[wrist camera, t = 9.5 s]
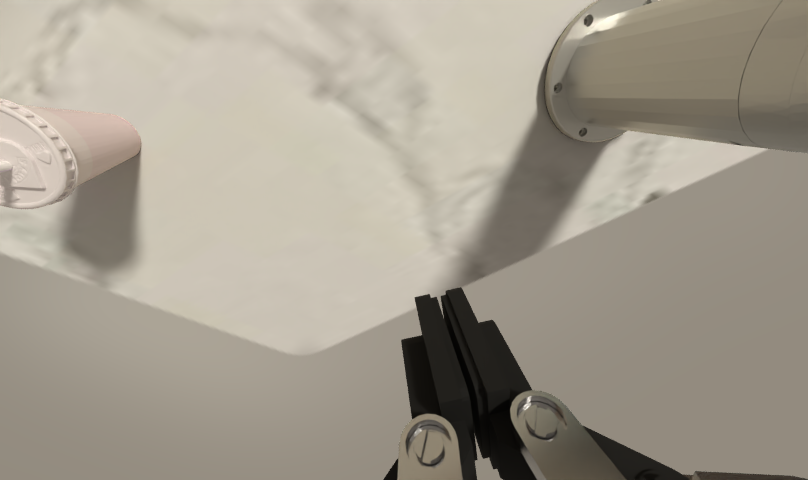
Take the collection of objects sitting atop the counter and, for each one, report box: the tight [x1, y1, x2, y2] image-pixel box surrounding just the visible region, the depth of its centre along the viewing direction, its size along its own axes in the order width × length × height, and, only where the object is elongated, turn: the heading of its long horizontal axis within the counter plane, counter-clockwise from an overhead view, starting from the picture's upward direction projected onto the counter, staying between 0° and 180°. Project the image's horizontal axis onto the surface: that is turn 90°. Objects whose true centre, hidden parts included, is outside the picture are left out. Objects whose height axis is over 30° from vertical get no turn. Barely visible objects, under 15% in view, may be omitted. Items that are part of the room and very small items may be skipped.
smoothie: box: [0, 99, 141, 209], centre depth 20 cm, size 6×6×14 cm
